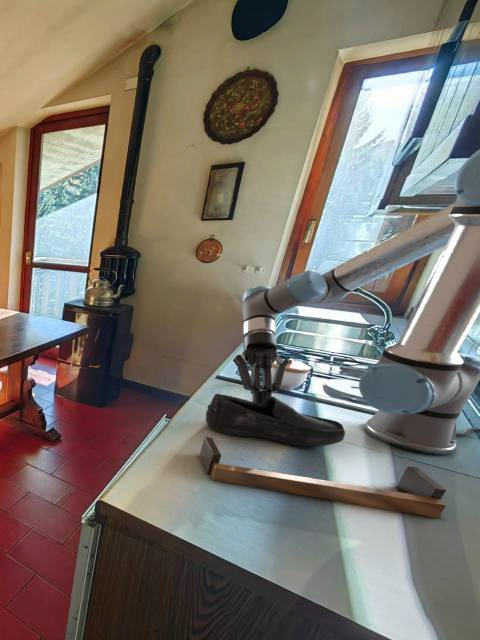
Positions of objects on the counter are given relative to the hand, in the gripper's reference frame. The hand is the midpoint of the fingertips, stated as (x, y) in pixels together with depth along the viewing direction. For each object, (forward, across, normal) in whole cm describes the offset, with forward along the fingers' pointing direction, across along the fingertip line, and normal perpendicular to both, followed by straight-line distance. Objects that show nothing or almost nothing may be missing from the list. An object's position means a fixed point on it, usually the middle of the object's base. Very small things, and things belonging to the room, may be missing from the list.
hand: (262, 415), depth 102 cm
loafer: (+7, 0, +2) cm, 7 cm away
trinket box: (-21, -17, -26) cm, 38 cm away
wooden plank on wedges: (+21, 0, +16) cm, 26 cm away
